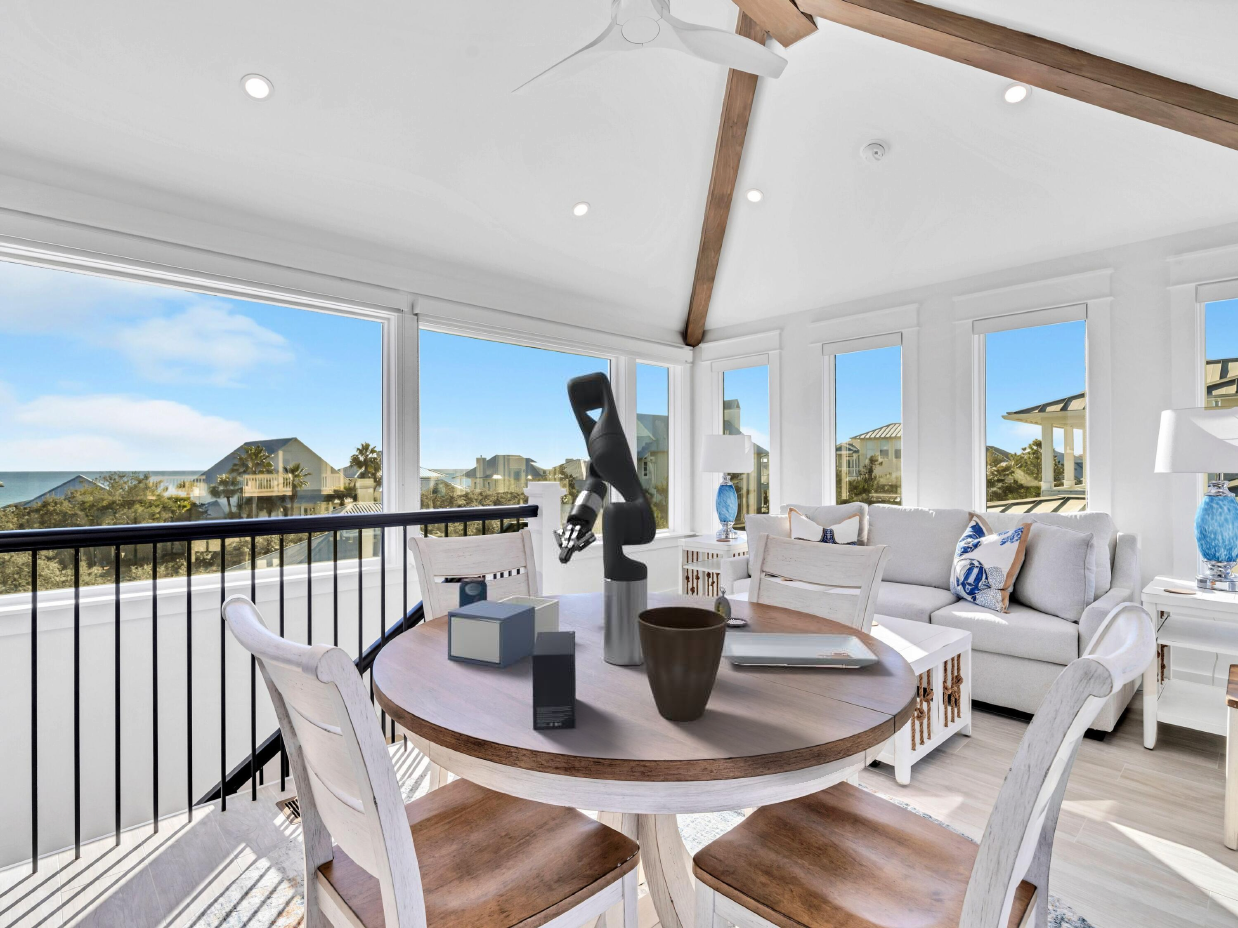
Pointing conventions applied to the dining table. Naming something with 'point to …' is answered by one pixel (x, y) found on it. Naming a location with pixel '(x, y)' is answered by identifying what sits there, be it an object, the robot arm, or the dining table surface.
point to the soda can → (472, 591)
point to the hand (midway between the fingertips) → (562, 561)
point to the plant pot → (681, 657)
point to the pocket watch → (726, 609)
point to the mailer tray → (498, 629)
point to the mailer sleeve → (501, 629)
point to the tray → (795, 649)
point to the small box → (554, 681)
